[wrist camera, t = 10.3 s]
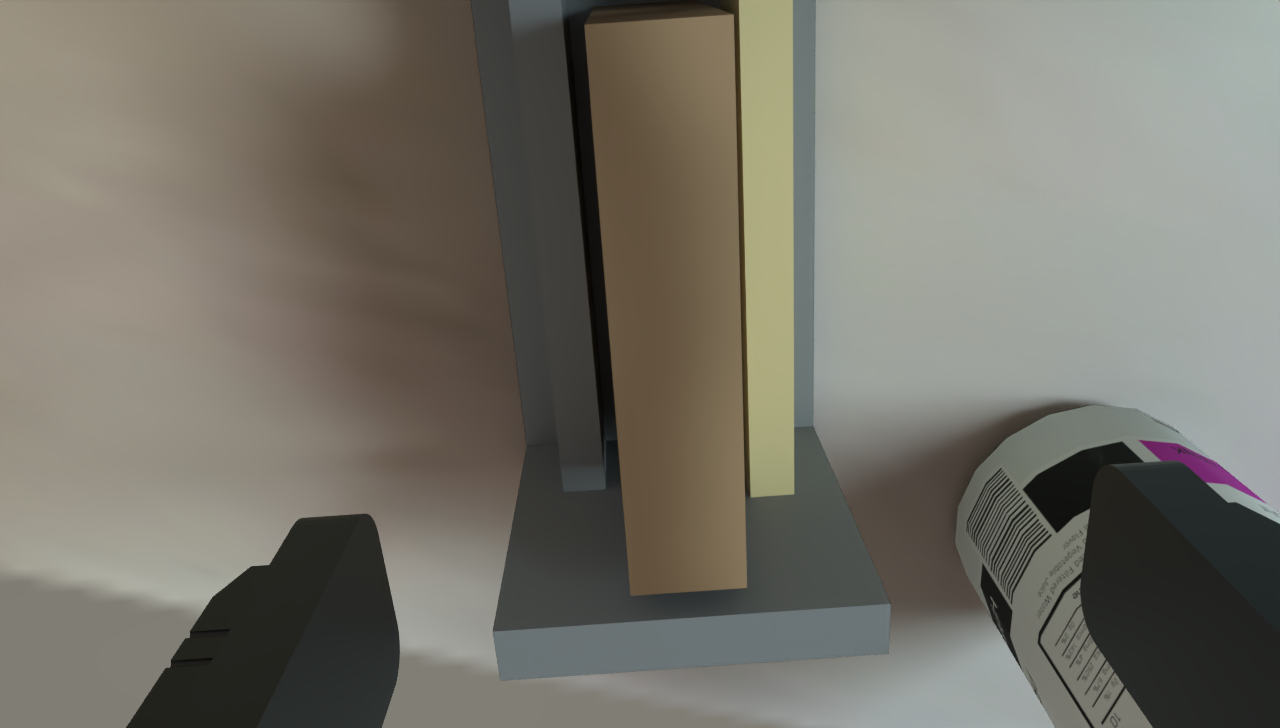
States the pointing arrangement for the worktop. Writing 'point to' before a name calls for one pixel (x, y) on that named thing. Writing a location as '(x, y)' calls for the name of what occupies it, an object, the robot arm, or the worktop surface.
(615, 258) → the door panel
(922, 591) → the worktop surface
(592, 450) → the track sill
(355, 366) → the worktop surface
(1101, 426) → the supplement can
